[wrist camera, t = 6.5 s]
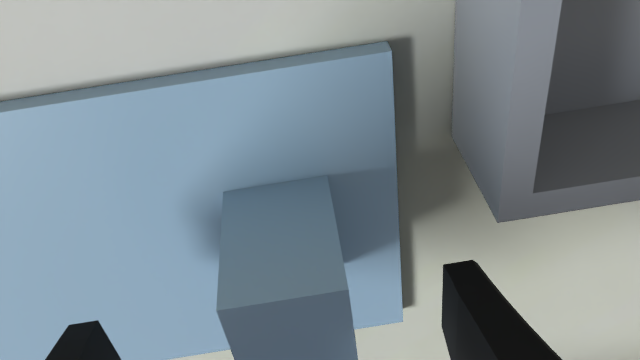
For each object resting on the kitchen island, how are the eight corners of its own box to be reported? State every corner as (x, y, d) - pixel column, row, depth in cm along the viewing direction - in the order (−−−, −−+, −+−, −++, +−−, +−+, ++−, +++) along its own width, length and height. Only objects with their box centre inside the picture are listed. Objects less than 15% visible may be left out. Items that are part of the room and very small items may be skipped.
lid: (395, 295, 17) (433, 434, 13) (-12, 360, 17) (-79, 517, 13) (382, 31, 12) (438, 148, 8) (-213, 124, 12) (-411, 283, 8)
